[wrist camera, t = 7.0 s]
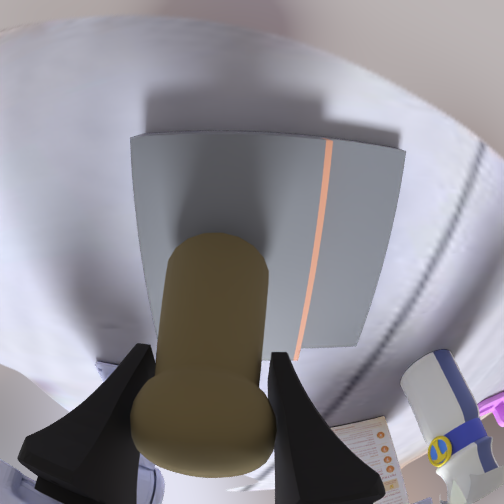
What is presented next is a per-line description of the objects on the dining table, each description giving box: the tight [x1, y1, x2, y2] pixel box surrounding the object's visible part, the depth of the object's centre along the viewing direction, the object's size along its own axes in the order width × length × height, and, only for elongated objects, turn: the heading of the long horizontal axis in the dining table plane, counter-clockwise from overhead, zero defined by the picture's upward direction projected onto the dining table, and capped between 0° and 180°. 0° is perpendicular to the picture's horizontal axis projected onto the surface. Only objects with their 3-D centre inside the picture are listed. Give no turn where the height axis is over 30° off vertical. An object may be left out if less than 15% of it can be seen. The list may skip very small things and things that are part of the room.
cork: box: [130, 233, 277, 478], centre depth 12 cm, size 6×6×11 cm
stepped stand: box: [130, 131, 406, 361], centre depth 20 cm, size 17×17×3 cm
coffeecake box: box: [331, 416, 409, 504], centre depth 26 cm, size 15×7×20 cm, turn 97°
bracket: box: [477, 392, 504, 427], centre depth 35 cm, size 13×6×7 cm, turn 88°
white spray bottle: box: [400, 349, 504, 504], centre depth 18 cm, size 8×9×25 cm
